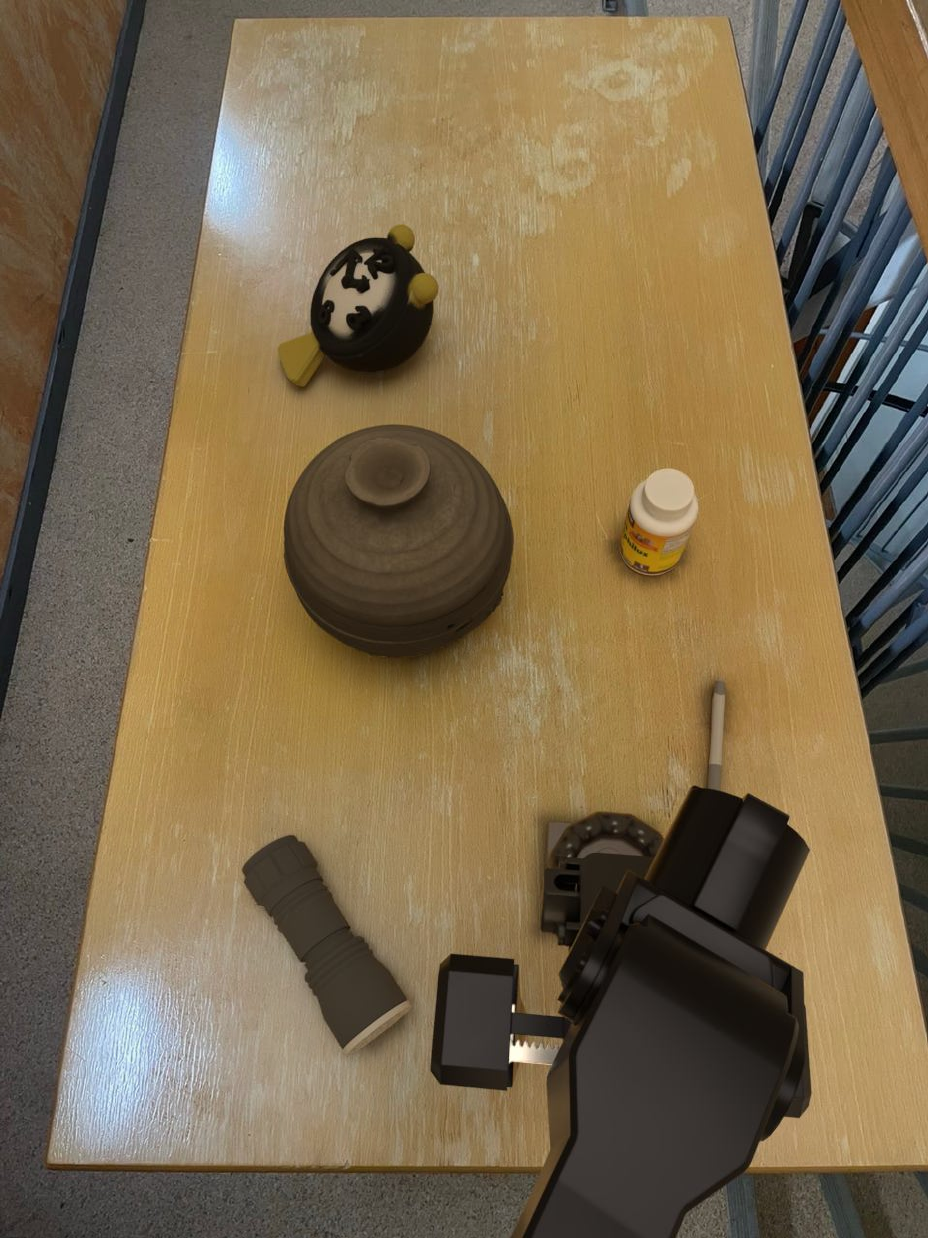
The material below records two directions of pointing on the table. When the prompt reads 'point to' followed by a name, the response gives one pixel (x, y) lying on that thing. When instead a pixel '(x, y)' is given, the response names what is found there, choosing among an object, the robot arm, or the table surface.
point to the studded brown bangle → (605, 826)
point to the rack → (591, 843)
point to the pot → (397, 541)
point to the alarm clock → (366, 309)
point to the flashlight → (325, 944)
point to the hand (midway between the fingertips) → (598, 1034)
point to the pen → (716, 736)
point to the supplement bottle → (658, 522)
